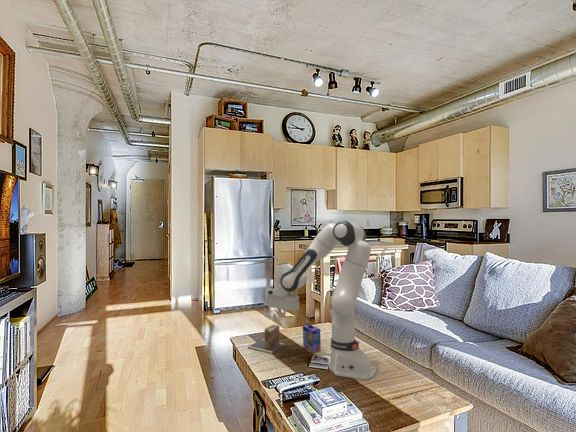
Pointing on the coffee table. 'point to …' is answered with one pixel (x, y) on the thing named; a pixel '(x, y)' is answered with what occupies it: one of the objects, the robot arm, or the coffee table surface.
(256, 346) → the mat
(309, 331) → the ink cartridge box
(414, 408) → the coffee table surface
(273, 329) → the slab
